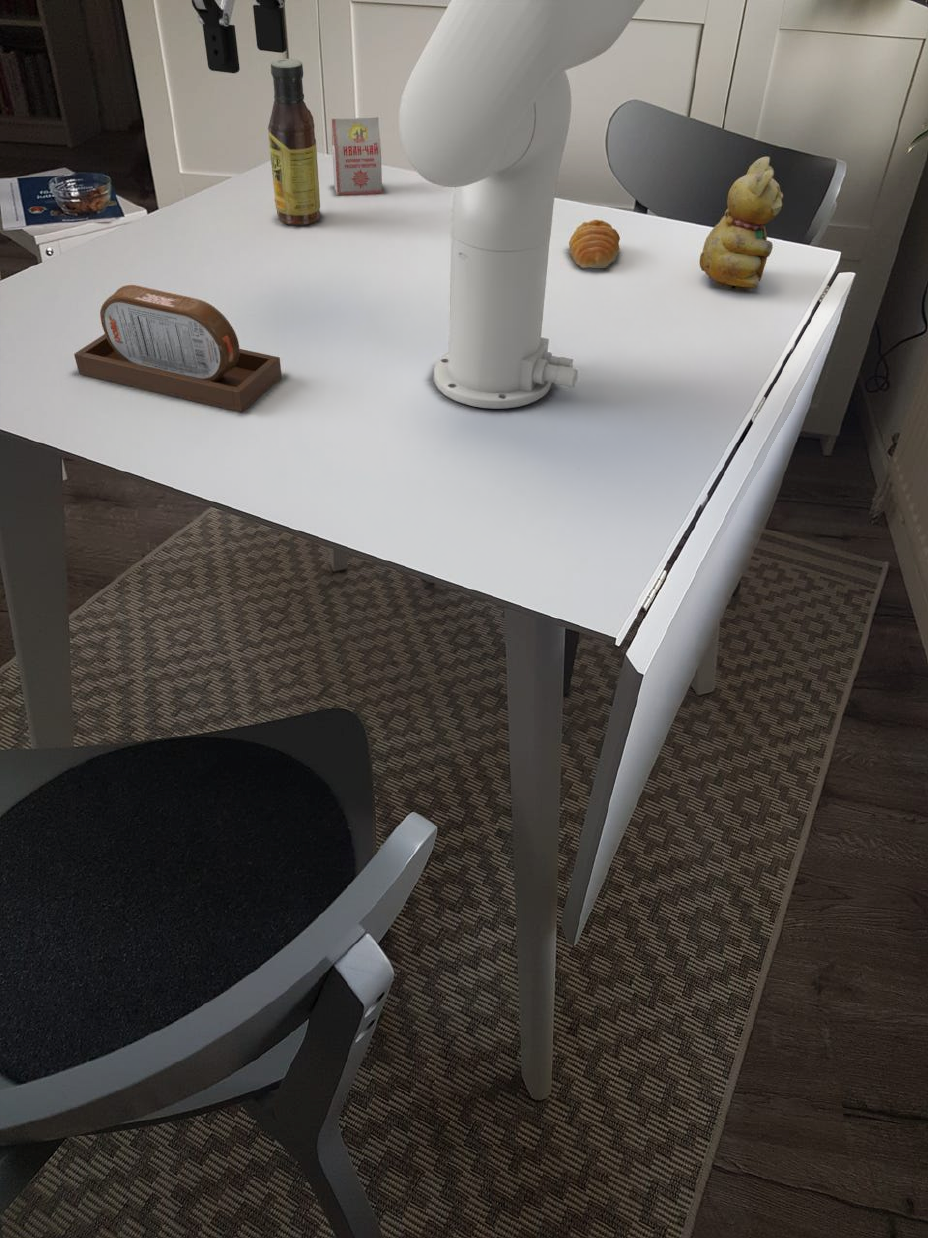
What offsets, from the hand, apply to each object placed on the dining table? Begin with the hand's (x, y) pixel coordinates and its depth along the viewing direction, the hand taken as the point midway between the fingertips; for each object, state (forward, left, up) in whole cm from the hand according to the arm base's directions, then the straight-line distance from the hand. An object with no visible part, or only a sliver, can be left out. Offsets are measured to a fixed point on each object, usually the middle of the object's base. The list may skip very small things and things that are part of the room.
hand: (249, 60), depth 97 cm
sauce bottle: (+11, -26, -26) cm, 39 cm away
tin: (+1, +19, -26) cm, 32 cm away
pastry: (-31, -31, -26) cm, 51 cm away
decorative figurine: (-49, -30, -26) cm, 63 cm away
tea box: (+9, -41, -26) cm, 50 cm away
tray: (+1, +19, -26) cm, 32 cm away
